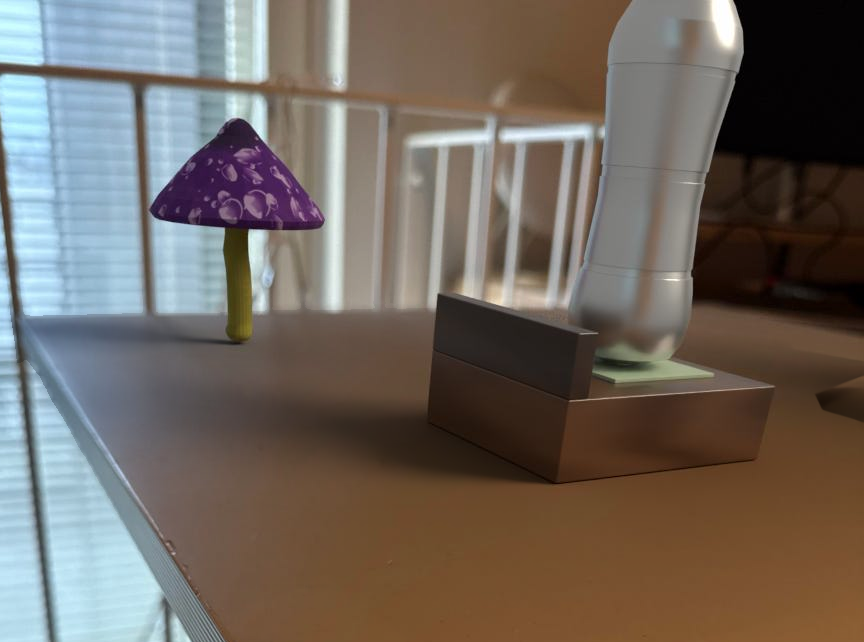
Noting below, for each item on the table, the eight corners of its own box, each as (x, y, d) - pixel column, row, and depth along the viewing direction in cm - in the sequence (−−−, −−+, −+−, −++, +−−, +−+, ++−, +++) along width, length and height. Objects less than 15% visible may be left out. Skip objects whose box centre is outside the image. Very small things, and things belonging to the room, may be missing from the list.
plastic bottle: (552, 365, 50) (620, -107, 41) (569, 345, 56) (632, -72, 47) (678, 381, 49) (777, -105, 40) (682, 359, 55) (769, -70, 46)
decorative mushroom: (245, 323, 80) (245, 120, 74) (355, 348, 73) (366, 127, 67) (119, 336, 72) (106, 107, 65) (231, 366, 65) (229, 114, 58)
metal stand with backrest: (611, 406, 62) (631, 292, 58) (757, 459, 52) (790, 327, 49) (425, 421, 55) (436, 292, 52) (555, 484, 46) (578, 333, 43)
